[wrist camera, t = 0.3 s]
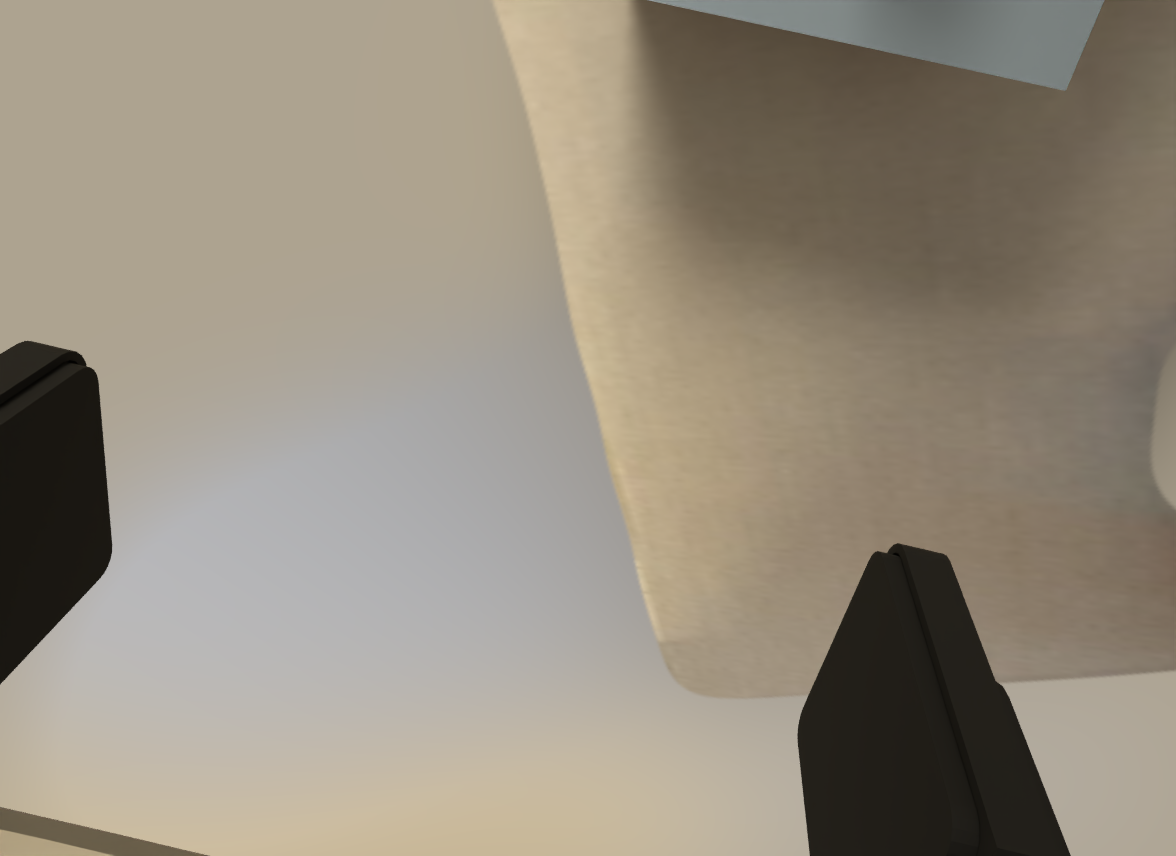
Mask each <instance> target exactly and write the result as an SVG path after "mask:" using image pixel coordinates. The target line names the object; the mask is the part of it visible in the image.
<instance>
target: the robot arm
mask: <svg viewBox="0 0 1176 856" xmlns="http://www.w3.org/2000/svg"><path fill="white" fill-rule="evenodd" d="M111 554H112V538H111V526H110V514H109V502H108V490H107V478H106V466H105V455H104V444H103V431H102V419H101V407H100V395H99V383H98V378H97V374H96V373H95V371H94V370H93V369H92V368H90V367H87V366H86V362H85V360H84V358H83V357H82V355H80V354H79V353H77V352H75V351H71V350H66V349H62V348H58V347H54V346H49V345H45V344H41V343H37V342H32V341H24V342H21V343H18V344H16V345H15V346H13V347H11V348H10V349H8V350H6V351H5V352H3V353H1V354H0V684H1V683H2V682H3V681H4V680H5V679H6V678H7V677H8V675H9V674H10V673H11V672H12V671H13V670H14V669H15V668H16V667H17V666H18V665H19V664H20V663H21V662H22V661H23V660H24V659H25V657H26V656H27V655H28V654H29V653H30V652H31V651H32V650H33V649H34V648H35V647H36V646H37V644H39V642H40V641H41V640H42V639H43V638H44V637H45V636H46V635H47V634H48V633H49V632H50V631H51V630H52V629H53V628H54V627H55V626H56V625H57V623H58V622H59V621H60V620H61V619H62V618H63V617H64V616H65V615H66V614H67V613H68V612H69V611H70V610H71V609H72V607H73V606H74V605H75V604H76V603H77V602H78V601H79V600H80V599H81V598H82V597H83V596H84V595H85V594H86V593H87V592H88V591H89V589H90V588H91V587H92V586H93V585H94V584H95V583H96V582H97V581H98V580H99V579H100V578H101V576H102V575H103V574H104V572H105V570H106V569H107V567H108V564H109V562H110V559H111ZM798 748H799V758H800V767H801V777H802V786H803V795H804V805H805V813H806V823H807V833H808V841H809V851H810V856H1071V855H1070V853H1069V850H1068V848H1067V845H1066V843H1065V840H1064V837H1063V835H1062V832H1061V830H1060V827H1059V824H1058V822H1057V820H1056V817H1055V814H1054V812H1053V809H1052V807H1051V804H1050V802H1049V799H1048V796H1047V794H1046V791H1045V788H1044V786H1043V784H1042V781H1041V778H1040V776H1039V773H1038V771H1037V768H1036V765H1035V763H1034V760H1033V758H1032V755H1031V753H1030V750H1029V747H1028V745H1027V742H1026V740H1025V737H1024V735H1023V732H1022V729H1021V727H1020V724H1019V722H1018V719H1017V716H1016V714H1015V712H1014V709H1013V706H1012V704H1011V701H1010V699H1009V697H1008V695H1007V693H1006V691H1005V689H1004V688H1003V686H1001V685H1000V684H999V683H997V682H996V681H995V678H994V676H993V673H992V670H991V668H990V665H989V663H988V660H987V657H986V655H985V652H984V649H983V647H982V644H981V641H980V639H979V636H978V634H977V631H976V628H975V626H974V623H973V620H972V618H971V615H970V612H969V610H968V607H967V605H966V602H965V599H964V597H963V594H962V591H961V589H960V586H959V583H958V581H957V578H956V576H955V573H954V570H953V568H952V565H951V562H950V560H949V559H948V557H947V556H946V555H944V554H942V553H937V552H933V551H929V550H924V549H920V548H916V547H912V546H907V545H903V544H899V543H897V544H895V545H893V546H892V547H891V548H890V549H889V551H888V553H883V552H879V551H877V552H875V553H874V554H873V555H872V556H871V558H870V560H869V562H868V564H867V566H866V568H865V571H864V573H863V575H862V577H861V580H860V582H859V584H858V586H857V588H856V591H855V593H854V595H853V597H852V600H851V602H850V604H849V606H848V609H847V611H846V613H845V615H844V618H843V620H842V622H841V624H840V626H839V629H838V631H837V633H836V635H835V638H834V640H833V642H832V644H831V647H830V649H829V651H828V653H827V656H826V658H825V660H824V662H823V664H822V667H821V669H820V671H819V673H818V676H817V678H816V680H815V682H814V685H813V687H812V689H811V691H810V693H809V696H808V698H807V701H806V703H805V705H804V707H803V710H802V713H801V716H800V720H799V726H798ZM0 856H208V855H204V854H199V853H195V852H191V851H186V850H182V849H178V848H174V847H170V846H165V845H161V844H157V843H153V842H149V841H144V840H140V839H136V838H132V837H127V836H123V835H119V834H115V833H110V832H106V831H102V830H98V829H93V828H89V827H85V826H80V825H76V824H71V823H67V822H63V821H58V820H54V819H50V818H46V817H41V816H37V815H32V814H28V813H24V812H19V811H15V810H11V809H7V808H2V807H0Z"/></svg>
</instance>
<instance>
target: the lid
mask: <svg viewBox="0 0 1176 856" xmlns="http://www.w3.org/2000/svg"><path fill="white" fill-rule="evenodd" d="M649 1H654V2H658V3H663V4H668V5H672V6H677V7H682V8H686V9H691V10H695V11H700V12H705V13H709V14H714V15H718V16H723V17H728V18H732V19H737V20H741V21H746V22H751V23H755V24H760V25H764V26H769V27H774V28H778V29H783V30H787V31H792V32H797V33H801V34H806V35H810V36H815V37H820V38H824V39H829V40H833V41H838V42H843V43H847V44H852V45H856V46H861V47H866V48H870V49H875V50H880V51H884V52H889V53H893V54H898V55H903V56H907V57H912V58H916V59H921V60H926V61H930V62H935V63H939V64H944V65H949V66H953V67H958V68H962V69H967V70H972V71H976V72H981V73H985V74H990V75H995V76H999V77H1004V78H1008V79H1013V80H1018V81H1022V82H1027V83H1031V84H1036V85H1041V86H1045V87H1050V88H1055V89H1059V90H1064V91H1066V89H1067V87H1068V84H1069V82H1070V80H1071V77H1072V75H1073V73H1074V70H1075V68H1076V66H1077V63H1078V61H1079V59H1080V56H1081V54H1082V52H1083V49H1084V47H1085V45H1086V42H1087V40H1088V38H1089V35H1090V33H1091V31H1092V28H1093V26H1094V24H1095V21H1096V19H1097V17H1098V14H1099V12H1100V10H1101V7H1102V5H1103V3H1104V0H649Z"/></svg>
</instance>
